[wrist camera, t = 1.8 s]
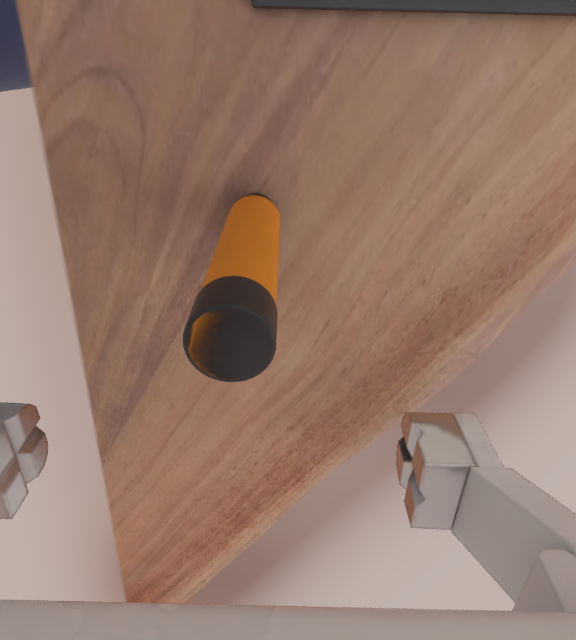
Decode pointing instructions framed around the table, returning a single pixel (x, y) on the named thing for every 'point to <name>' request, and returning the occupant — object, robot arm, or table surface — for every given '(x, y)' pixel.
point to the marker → (238, 296)
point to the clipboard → (431, 6)
